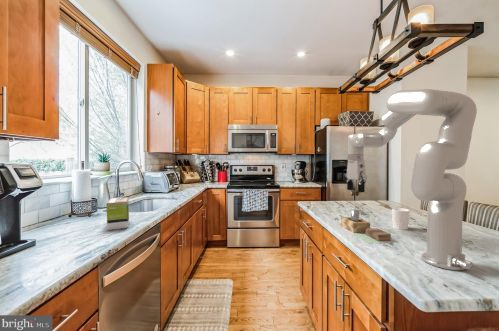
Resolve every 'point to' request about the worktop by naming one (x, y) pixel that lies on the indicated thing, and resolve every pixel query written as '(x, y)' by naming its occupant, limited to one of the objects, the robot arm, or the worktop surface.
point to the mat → (371, 239)
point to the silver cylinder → (355, 215)
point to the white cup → (400, 218)
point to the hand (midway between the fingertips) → (355, 191)
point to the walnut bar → (378, 234)
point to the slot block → (355, 225)
